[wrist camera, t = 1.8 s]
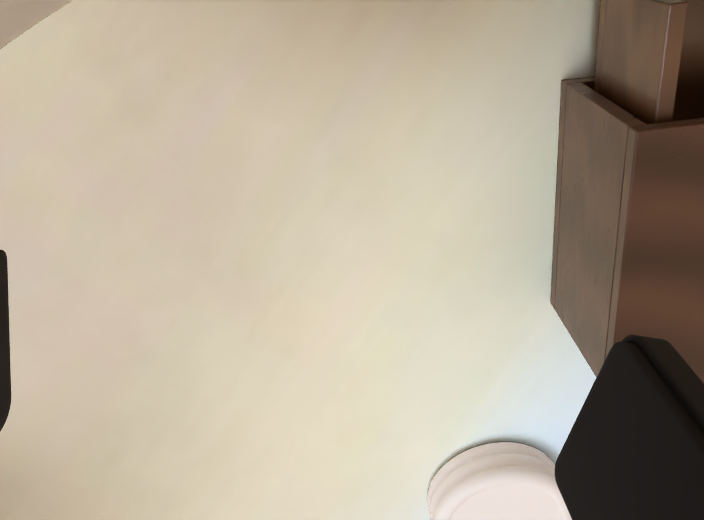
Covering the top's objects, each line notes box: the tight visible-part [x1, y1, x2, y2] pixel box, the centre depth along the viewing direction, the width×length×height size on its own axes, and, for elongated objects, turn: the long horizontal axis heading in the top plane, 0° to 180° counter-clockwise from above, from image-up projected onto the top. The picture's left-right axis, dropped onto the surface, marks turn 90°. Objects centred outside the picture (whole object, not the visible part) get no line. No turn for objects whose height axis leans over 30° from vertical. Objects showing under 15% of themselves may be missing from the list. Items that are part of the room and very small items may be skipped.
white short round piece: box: [427, 442, 572, 520], centre depth 48 cm, size 10×10×4 cm
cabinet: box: [551, 77, 704, 383], centre depth 35 cm, size 14×13×9 cm
